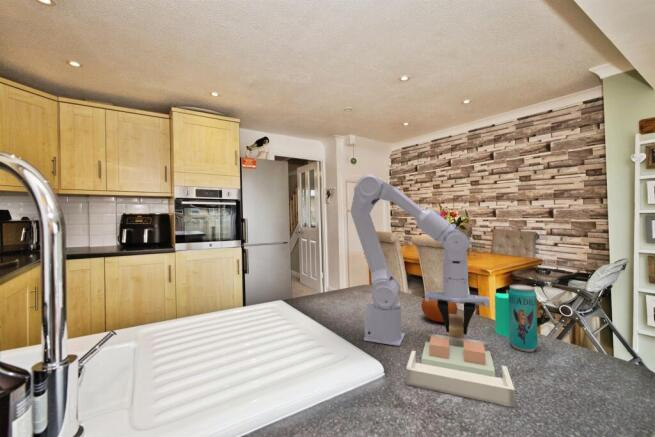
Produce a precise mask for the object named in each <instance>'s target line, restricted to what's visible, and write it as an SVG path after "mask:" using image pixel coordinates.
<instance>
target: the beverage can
mask: <svg viewBox="0 0 655 437" xmlns="http://www.w3.org/2000/svg"><path fill="white" fill-rule="evenodd" d="M535 289H536V288H535V287H533V286H530V285H525V284H511V285H509V290H508V291H507V294H508V295H509V337H508V338H509V341H510V343H511V347H512V348H514V349H515V350H517V351H521V352H526V353H532V352H534V351H535V350H536V348H537V346H538V311H537V310H538V305H537V300H538V299H537V298H538V297H537V292H536V291H535Z"/></svg>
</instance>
